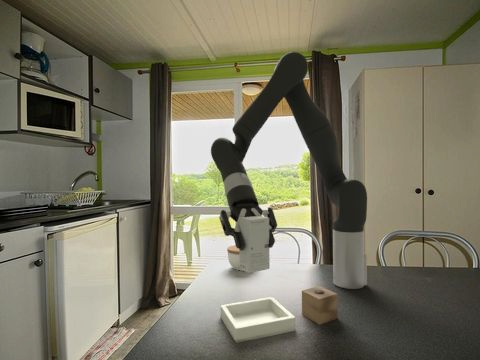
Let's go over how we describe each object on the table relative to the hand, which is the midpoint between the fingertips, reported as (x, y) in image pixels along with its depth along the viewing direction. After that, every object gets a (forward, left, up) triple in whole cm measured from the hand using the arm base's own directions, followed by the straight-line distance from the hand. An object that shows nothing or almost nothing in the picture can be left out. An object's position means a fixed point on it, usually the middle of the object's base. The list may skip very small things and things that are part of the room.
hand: (257, 247), depth 68 cm
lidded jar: (-11, -42, -18) cm, 47 cm away
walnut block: (-16, +1, -18) cm, 24 cm away
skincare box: (0, -2, -6) cm, 6 cm away
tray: (0, -1, -18) cm, 18 cm away
